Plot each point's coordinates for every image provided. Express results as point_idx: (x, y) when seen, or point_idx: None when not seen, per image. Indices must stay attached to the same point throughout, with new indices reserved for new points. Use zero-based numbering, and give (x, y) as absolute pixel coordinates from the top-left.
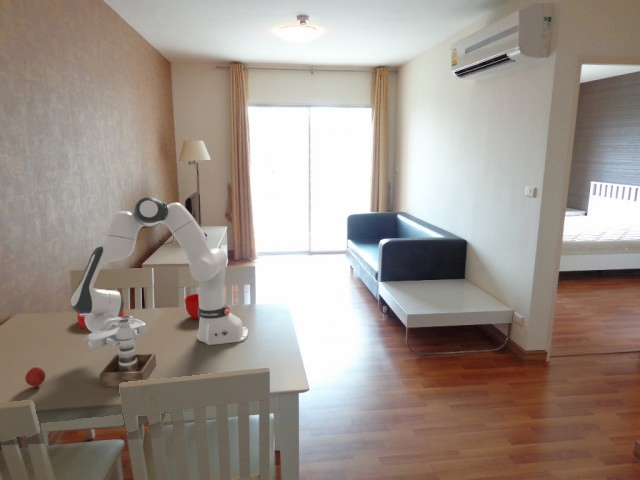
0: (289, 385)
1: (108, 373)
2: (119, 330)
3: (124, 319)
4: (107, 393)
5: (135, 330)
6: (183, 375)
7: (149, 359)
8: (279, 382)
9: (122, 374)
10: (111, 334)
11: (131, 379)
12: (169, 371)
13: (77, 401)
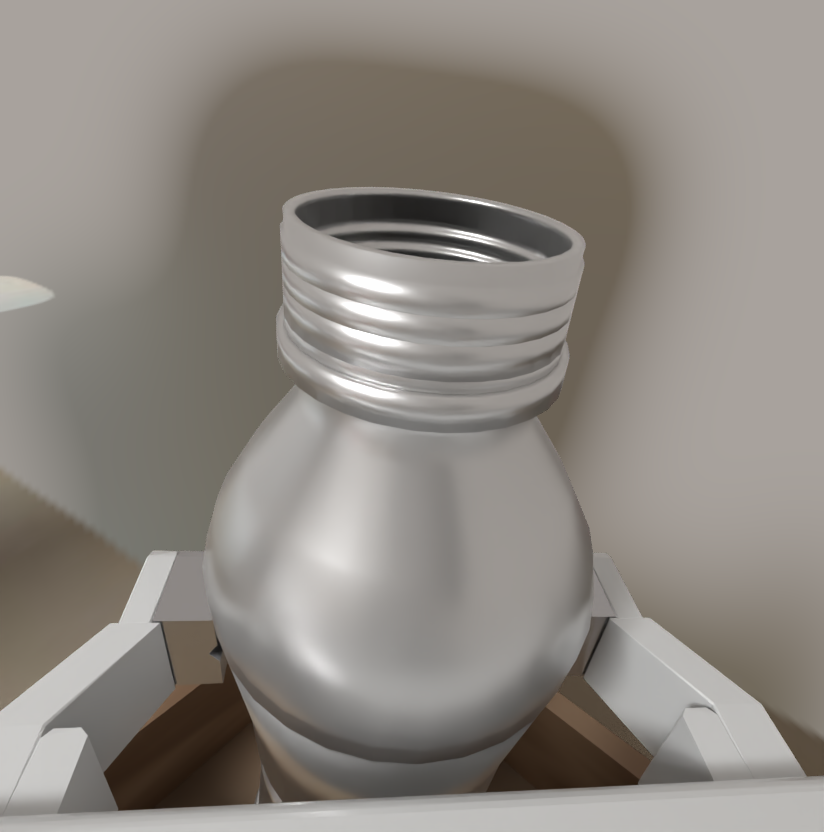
0: (17, 288)
1: (603, 729)
2: (537, 418)
3: (371, 252)
4: (591, 699)
5: (11, 741)
6: (108, 544)
7: (159, 707)
8: (5, 304)
9: None
10: (689, 810)
11: None
12: None
13: (804, 754)
